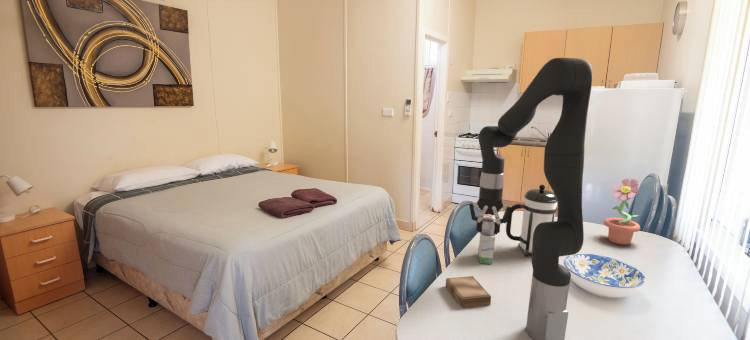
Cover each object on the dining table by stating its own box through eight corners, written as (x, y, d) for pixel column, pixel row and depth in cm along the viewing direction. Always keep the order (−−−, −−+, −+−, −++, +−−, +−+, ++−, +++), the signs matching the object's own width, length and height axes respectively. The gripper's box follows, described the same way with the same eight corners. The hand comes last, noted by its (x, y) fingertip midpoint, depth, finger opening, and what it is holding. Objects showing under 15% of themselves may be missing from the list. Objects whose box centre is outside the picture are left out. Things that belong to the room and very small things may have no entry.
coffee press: (527, 241, 165) (534, 178, 159) (560, 255, 152) (570, 186, 145) (502, 249, 156) (509, 183, 149) (536, 264, 143) (545, 192, 136)
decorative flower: (592, 236, 173) (602, 175, 167) (616, 234, 176) (627, 174, 170) (618, 249, 159) (630, 183, 153) (644, 247, 162) (657, 182, 155)
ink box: (477, 254, 151) (480, 227, 149) (490, 255, 150) (493, 228, 148) (479, 263, 143) (481, 235, 141) (492, 264, 142) (495, 236, 140)
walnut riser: (490, 304, 115) (491, 296, 114) (461, 307, 113) (461, 298, 112) (472, 283, 127) (472, 275, 127) (445, 286, 125) (446, 278, 125)
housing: (495, 237, 122) (496, 222, 121) (480, 235, 123) (481, 220, 122) (494, 232, 127) (495, 217, 126) (480, 230, 128) (481, 216, 127)
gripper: (469, 186, 120) (466, 234, 123) (515, 189, 116) (510, 239, 119) (469, 181, 127) (466, 227, 130) (512, 184, 123) (508, 231, 126)
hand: (487, 232), depth 125 cm, fingers closed on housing, 5 cm apart
